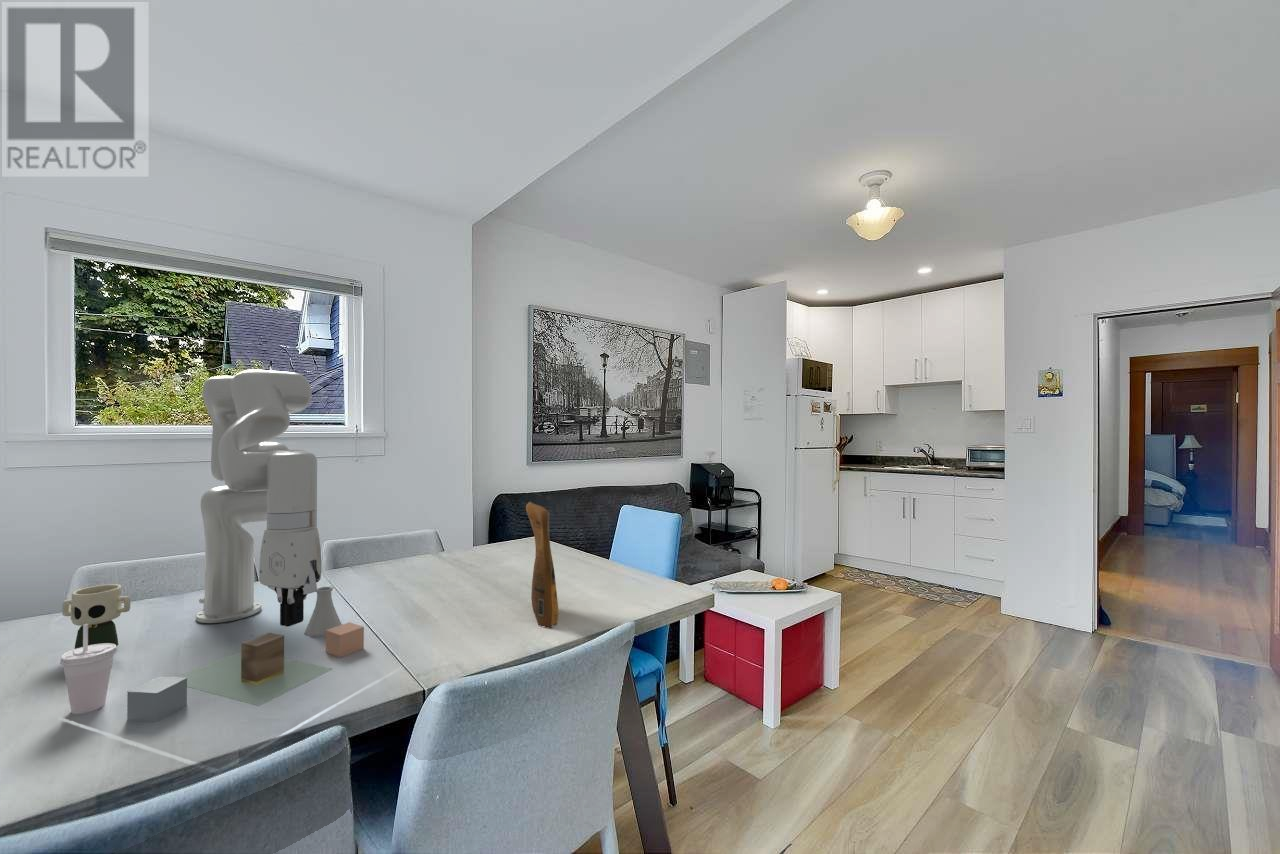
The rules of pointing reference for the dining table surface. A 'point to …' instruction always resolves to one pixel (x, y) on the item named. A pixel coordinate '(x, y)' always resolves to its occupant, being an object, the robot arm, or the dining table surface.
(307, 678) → the rubber mat
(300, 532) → the robot arm
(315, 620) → the flask
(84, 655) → the smoothie
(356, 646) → the terracotta block
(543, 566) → the pancake mix bag
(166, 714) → the slate block
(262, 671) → the walnut block
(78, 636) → the character mug
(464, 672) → the dining table surface
